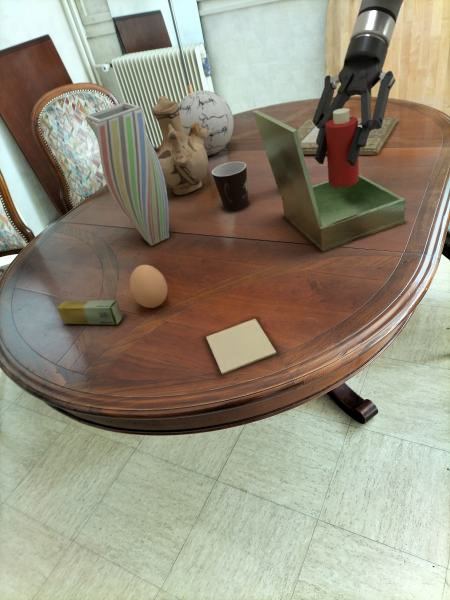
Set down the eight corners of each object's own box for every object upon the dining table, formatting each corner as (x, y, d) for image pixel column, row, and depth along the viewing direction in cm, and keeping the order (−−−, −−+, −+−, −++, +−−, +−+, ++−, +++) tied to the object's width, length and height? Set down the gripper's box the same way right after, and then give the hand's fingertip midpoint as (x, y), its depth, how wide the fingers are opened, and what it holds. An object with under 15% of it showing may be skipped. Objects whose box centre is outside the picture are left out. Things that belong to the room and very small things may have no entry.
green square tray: (355, 192, 100) (354, 171, 97) (404, 222, 86) (405, 199, 83) (284, 216, 98) (281, 196, 95) (322, 252, 84) (320, 228, 80)
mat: (276, 353, 64) (276, 351, 64) (222, 374, 63) (221, 372, 63) (255, 320, 72) (255, 318, 71) (206, 338, 70) (206, 336, 70)
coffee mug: (232, 196, 113) (224, 160, 107) (259, 199, 108) (252, 162, 102) (206, 217, 106) (197, 180, 100) (233, 221, 101) (225, 183, 95)
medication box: (124, 316, 80) (118, 299, 78) (118, 325, 78) (111, 307, 76) (70, 316, 83) (63, 299, 81) (63, 324, 81) (55, 307, 79)
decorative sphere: (196, 144, 155) (182, 86, 143) (246, 140, 147) (236, 79, 135) (172, 167, 141) (154, 104, 129) (226, 163, 133) (212, 97, 121)
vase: (142, 259, 96) (90, 126, 78) (122, 240, 106) (72, 117, 88) (192, 235, 100) (154, 103, 82) (168, 218, 110) (130, 98, 92)
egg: (174, 309, 79) (160, 271, 73) (139, 320, 78) (122, 282, 73) (170, 290, 84) (157, 252, 79) (138, 299, 84) (122, 262, 78)
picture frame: (377, 156, 115) (378, 146, 113) (276, 155, 129) (275, 147, 128) (397, 122, 132) (397, 114, 130) (306, 125, 146) (305, 117, 145)
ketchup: (364, 181, 85) (364, 109, 76) (337, 190, 84) (334, 118, 76) (348, 172, 90) (347, 103, 81) (323, 181, 89) (319, 112, 80)
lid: (256, 109, 83) (252, 111, 83) (297, 129, 68) (292, 132, 68) (283, 193, 95) (279, 195, 95) (322, 225, 80) (318, 227, 80)
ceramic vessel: (144, 201, 123) (114, 112, 108) (181, 173, 134) (158, 90, 119) (194, 205, 113) (169, 109, 98) (229, 175, 125) (211, 85, 110)
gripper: (423, 53, 78) (388, 172, 79) (330, 62, 89) (299, 166, 90) (416, 26, 72) (377, 156, 73) (316, 39, 83) (284, 152, 84)
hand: (334, 161), depth 81 cm, fingers closed on ketchup, 6 cm apart
